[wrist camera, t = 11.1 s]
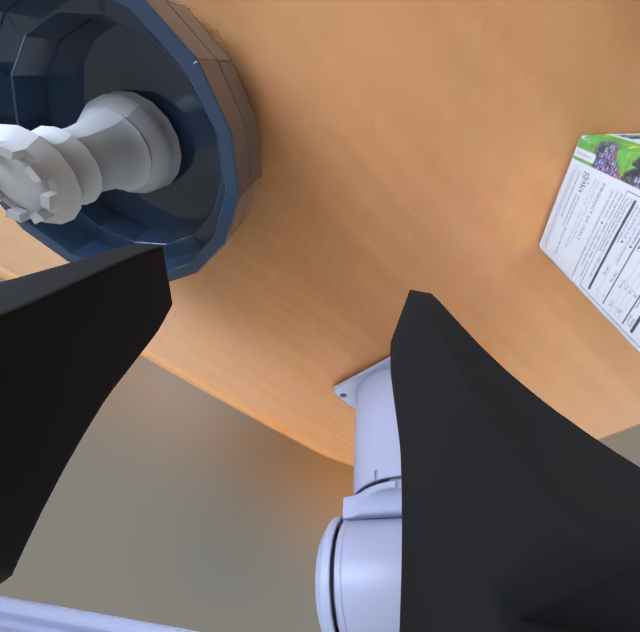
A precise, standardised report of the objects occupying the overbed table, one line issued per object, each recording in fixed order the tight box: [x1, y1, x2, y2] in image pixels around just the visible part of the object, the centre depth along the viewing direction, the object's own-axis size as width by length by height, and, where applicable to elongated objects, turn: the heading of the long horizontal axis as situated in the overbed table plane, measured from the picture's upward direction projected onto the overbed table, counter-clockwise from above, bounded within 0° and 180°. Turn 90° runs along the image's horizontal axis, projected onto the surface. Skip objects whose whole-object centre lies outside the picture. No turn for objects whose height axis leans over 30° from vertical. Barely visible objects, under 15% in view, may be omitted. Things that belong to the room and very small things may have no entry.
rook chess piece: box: [0, 91, 182, 224], centre depth 14 cm, size 4×4×8 cm
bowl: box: [0, 0, 261, 281], centre depth 16 cm, size 12×12×4 cm
